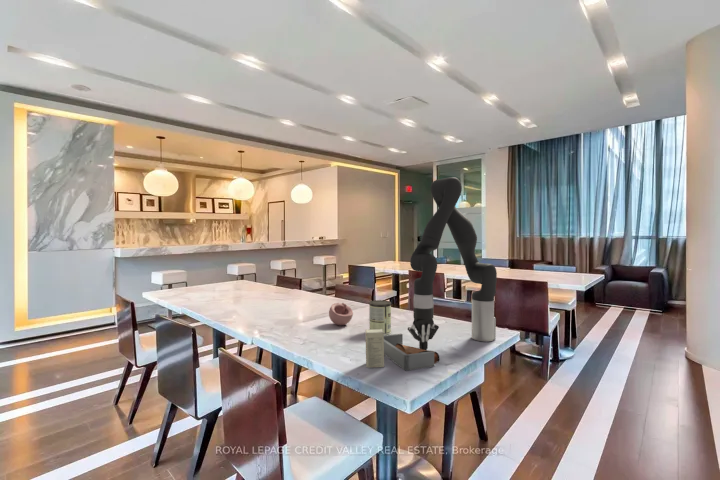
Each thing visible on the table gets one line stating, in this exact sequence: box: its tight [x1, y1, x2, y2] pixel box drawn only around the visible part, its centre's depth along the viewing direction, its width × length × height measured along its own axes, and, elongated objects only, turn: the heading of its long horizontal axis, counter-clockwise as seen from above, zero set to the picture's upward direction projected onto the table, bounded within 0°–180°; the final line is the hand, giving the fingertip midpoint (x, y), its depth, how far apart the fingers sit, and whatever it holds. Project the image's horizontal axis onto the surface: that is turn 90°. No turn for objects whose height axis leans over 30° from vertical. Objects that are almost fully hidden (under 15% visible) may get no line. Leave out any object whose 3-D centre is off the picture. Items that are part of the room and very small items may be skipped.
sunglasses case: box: [395, 343, 440, 365], centre depth 130 cm, size 18×7×7 cm
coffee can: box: [368, 299, 392, 335], centre depth 164 cm, size 10×10×14 cm
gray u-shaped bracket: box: [384, 333, 435, 372], centre depth 132 cm, size 11×24×5 cm, turn 21°
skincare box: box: [365, 329, 385, 369], centre depth 123 cm, size 6×4×12 cm
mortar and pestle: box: [328, 302, 354, 326], centre depth 177 cm, size 12×12×12 cm
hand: (423, 350), depth 135 cm, fingers closed
